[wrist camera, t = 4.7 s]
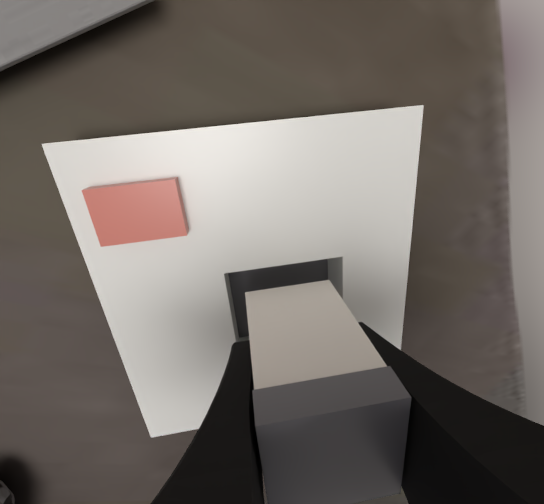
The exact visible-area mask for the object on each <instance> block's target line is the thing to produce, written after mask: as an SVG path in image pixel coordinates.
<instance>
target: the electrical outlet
mask: <svg viewBox="0 0 544 504" xmlns="http://www.w3.org/2000/svg"><path fill="white" fill-rule="evenodd" d="M152 1H154V0H0V71H2V70H4V69H6V68H9V67H11V66H13V65H15V64H17V63H19V62H22V61H24V60H26V59H28V58H30V57H32V56H35V55H37V54H39V53H41V52H43V51H46V50H48V49H50V48H52V47H54V46H56V45H59V44H61V43H63V42H65V41H67V40H69V39H72V38H74V37H76V36H78V35H80V34H83V33H85V32H87V31H89V30H91V29H93V28H96V27H98V26H100V25H102V24H104V23H106V22H109V21H111V20H113V19H115V18H117V17H120V16H122V15H124V14H126V13H128V12H130V11H133V10H135V9H137V8H139V7H141V6H143V5H146V4H148V3H150V2H152Z"/></svg>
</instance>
